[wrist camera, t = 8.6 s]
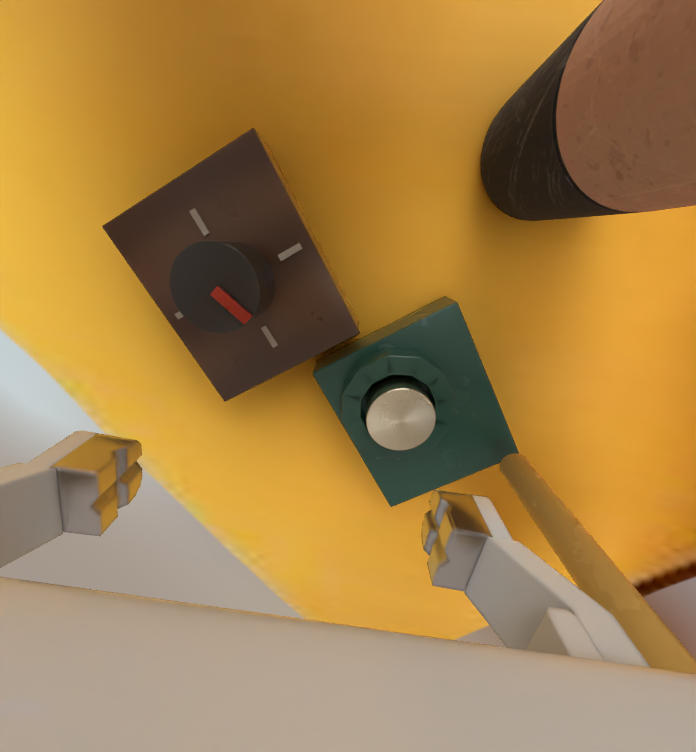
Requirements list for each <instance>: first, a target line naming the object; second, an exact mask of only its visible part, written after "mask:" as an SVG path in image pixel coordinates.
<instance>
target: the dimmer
mask: <svg viewBox="0 0 696 752" xmlns="http://www.w3.org/2000/svg"><path fill="white" fill-rule="evenodd" d="M102 227H103V229H104V230H105V231H106V233H107V234H108V236H109V237H110V239H111V240H112V241H113V243H114V244H115V246H116V247H117V249H118V250H119V251H120V253H121V254H122V256H123V257H124V259H125V260H126V261H127V263H128V264H129V266H130V267H131V268H132V270H133V271H134V273H135V274H136V276H137V277H138V278H139V280H140V281H141V283H142V284H143V286H144V287H145V288H146V290H147V291H148V293H149V294H150V296H151V297H152V298H153V300H154V301H155V303H156V304H157V306H158V307H159V308H160V310H161V311H162V313H163V314H164V316H165V317H166V318H167V320H168V321H169V323H170V324H171V326H172V327H173V328H174V330H175V331H176V333H177V334H178V336H179V337H180V338H181V340H182V341H183V343H184V344H185V346H186V347H187V348H188V350H189V351H190V353H191V354H192V356H193V357H194V358H195V360H196V361H197V363H198V364H199V366H200V367H201V368H202V370H203V371H204V373H205V374H206V376H207V377H208V378H209V380H210V381H211V383H212V384H213V386H214V387H215V388H216V390H217V391H218V393H219V394H220V396H221V397H222V398H223V400H224V401H227V400H229V399H231V398H233V397H235V396H237V395H239V394H241V393H243V392H245V391H247V390H249V389H251V388H253V387H255V386H257V385H259V384H261V383H263V382H265V381H267V380H269V379H271V378H273V377H275V376H277V375H279V374H281V373H283V372H285V371H286V370H288V369H290V368H292V367H294V366H296V365H298V364H300V363H302V362H304V361H306V360H308V359H310V358H312V357H314V356H316V355H318V354H320V353H322V352H324V351H326V350H328V349H330V348H332V347H334V346H336V345H338V344H340V343H342V342H344V341H346V340H348V339H350V338H352V337H354V336H356V335H358V334H359V333H360V330H359V322H358V320H357V318H356V316H355V314H354V313H353V311H352V309H351V307H350V305H349V303H348V301H347V299H346V297H345V295H344V293H343V291H342V289H341V287H340V285H339V283H338V281H337V279H336V278H335V276H334V274H333V272H332V270H331V268H330V266H329V264H328V262H327V260H326V258H325V256H324V254H323V252H322V250H321V248H320V246H319V244H318V242H317V241H316V239H315V237H314V235H313V233H312V231H311V229H310V227H309V225H308V223H307V221H306V219H305V217H304V215H303V213H302V211H301V209H300V207H299V206H298V204H297V202H296V200H295V198H294V196H293V194H292V192H291V190H290V188H289V186H288V184H287V182H286V180H285V178H284V176H283V174H282V172H281V171H280V169H279V167H278V165H277V163H276V161H275V159H274V157H273V155H272V153H271V151H270V149H269V147H268V145H267V144H266V143H265V141H264V140H263V139H262V138H261V136H260V135H259V134H258V133H257V131H256V130H255V129H254V128H252V129H251V130H249V131H247V132H246V133H244V134H243V135H241V136H240V137H238V138H237V139H235V140H234V141H232V142H231V143H229V144H228V145H226V146H224V147H223V148H221V149H220V150H218V151H217V152H215V153H214V154H212V155H211V156H209V157H208V158H206V159H204V160H203V161H201V162H200V163H198V164H197V165H195V166H194V167H192V168H191V169H189V170H188V171H186V172H185V173H183V174H181V175H180V176H178V177H177V178H175V179H174V180H172V181H171V182H169V183H168V184H166V185H165V186H163V187H161V188H160V189H158V190H157V191H155V192H154V193H152V194H151V195H149V196H148V197H146V198H145V199H143V200H142V201H140V202H138V203H137V204H135V205H134V206H132V207H131V208H129V209H128V210H126V211H125V212H123V213H122V214H120V215H118V216H117V217H115V218H114V219H112V220H111V221H109V222H108V223H106V224H105V225H103V226H102ZM200 241H226V242H239V243H243V244H246V245H248V246H251V247H252V248H254V249H256V250H257V251H258V252H259V253H260V254H261V255H262V256H263V257H264V258H265V259H266V261H267V262H268V264H269V265H270V267H271V270H272V272H273V276H274V283H275V288H274V294H273V298H272V300H271V302H270V304H269V306H268V307H267V308H266V310H265V311H264V312H263V313H261V314H260V315H258V316H257V317H256V318H254V319H253V320H252V321H250V322H249V323H248V324H246V325H245V326H243V327H242V328H240V329H238V330H236V331H233V332H229V333H213V332H209V331H205V330H203V329H200V328H198V327H197V326H195V325H193V324H192V323H191V322H189V321H188V320H187V319H186V318H185V317H184V316H183V315H182V314H181V312H180V311H179V310H178V308H177V306H176V305H175V303H174V300H173V298H172V295H171V291H170V284H169V278H170V271H171V268H172V265H173V263H174V260H175V259H176V257H177V256H178V255H179V253H180V252H181V251H182V250H184V249H185V248H186V247H188V246H189V245H191V244H194V243H196V242H200Z"/></svg>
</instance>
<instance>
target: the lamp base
mask: <svg viewBox="0 0 696 752" xmlns="http://www.w3.org/2000/svg"><path fill="white" fill-rule="evenodd" d="M313 376H314V377H315V379H316V381H317V383H318V384H319V386H320V388H321V389H322V391H323V393H324V394H325V396H326V398H327V400H328V401H329V403H330V405H331V406H332V408H333V410H334V411H335V413H336V415H337V417H338V418H339V420H340V422H341V423H342V425H343V427H344V428H345V430H346V432H347V433H348V435H349V437H350V439H351V440H352V442H353V444H354V445H355V447H356V449H357V450H358V452H359V454H360V456H361V457H362V459H363V461H364V462H365V464H366V466H367V467H368V469H369V471H370V472H371V474H372V476H373V478H374V479H375V481H376V483H377V484H378V486H379V488H380V489H381V491H382V493H383V495H384V496H385V498H386V500H387V501H388V503H389V505H390V506H391V507H392V506H395V505H397V504H400V503H402V502H405V501H407V500H410V499H412V498H414V497H417V496H419V495H422V494H424V493H427V492H429V491H432V490H434V489H436V488H439V487H441V486H444V485H446V484H449V483H451V482H454V481H456V480H459V479H461V478H463V477H466V476H468V475H471V474H473V473H476V472H478V471H481V470H483V469H485V468H488V467H490V466H493V465H495V464H498V463H500V462H501V460H502V459H503V458H504V457H505V456H507V455H509V454H513V453H518V454H519V452H518V450H517V447H516V445H515V442H514V440H513V437H512V435H511V432H510V430H509V427H508V425H507V423H506V420H505V418H504V415H503V413H502V410H501V408H500V405H499V403H498V401H497V398H496V396H495V393H494V391H493V388H492V386H491V383H490V381H489V379H488V376H487V374H486V371H485V369H484V366H483V364H482V361H481V359H480V357H479V354H478V352H477V349H476V347H475V344H474V342H473V339H472V337H471V335H470V332H469V330H468V327H467V325H466V322H465V320H464V317H463V315H462V312H461V310H460V308H459V305H458V303H457V302H456V301H454V300H452V299H450V298H448V297H446V296H445V297H443V298H441V299H439V300H437V301H435V302H433V303H431V304H429V305H427V306H425V307H423V308H421V309H419V310H417V311H415V312H413V313H411V314H409V315H407V316H405V317H403V318H401V319H399V320H397V321H395V322H393V323H391V324H389V325H387V326H385V327H383V328H381V329H379V330H377V331H375V332H373V333H371V334H369V335H367V336H365V337H363V338H361V339H359V340H357V341H355V342H353V343H351V344H350V345H348V346H346V347H344V348H342V349H340V350H338V351H336V352H334V353H332V354H330V355H328V356H326V357H324V358H322V359H320V360H318V361H316V364H315V367H314V371H313ZM393 378H405V379H409V380H412V381H414V382H416V383H417V384H419V385H420V386H421V387H422V388H423V389H424V390H425V392H426V393H427V395H428V397H429V399H430V401H431V403H432V405H433V407H434V409H435V414H436V421H435V426H434V429H433V431H432V433H431V434H430V436H429V437H428V438H427V439H426V440H425V441H424V442H423V443H421V444H420V445H418V446H416V447H414V448H411V449H407V450H392V449H388V448H385V447H383V446H381V445H380V444H378V443H377V442H376V441H375V440H374V439H373V438H372V437H371V435H370V434H369V432H368V429H367V424H366V415H365V404H366V400H367V397H368V395H369V394H370V392H371V391H372V390H373V389H374V388H375V387H376V386H377V385H378V384H380V383H381V382H383V381H386V380H388V379H393Z"/></svg>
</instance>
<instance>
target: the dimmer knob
mask: <svg viewBox="0 0 696 752" xmlns="http://www.w3.org/2000/svg"><path fill="white" fill-rule="evenodd" d="M169 284H170V291H171V295H172V298H173V300H174V303H175V305H176V306H177V308H178V310H179V311H180V312H181V314H182V315H183V316H184V317H185V318H186V319H187V320H188V321H189V322H191V323H192V324H193V325H195V326H197V327H198V328H200V329H203V330H205V331H209V332H213V333H229V332H233V331H236V330H238V329H240V328H242V327H243V326H245V325H246V324H248V323H249V322H250V321H252V320H253V319H254V318H256V317H257V316H258V315H260V314H261V313H263V312H264V311H265V310H266V308H267V307H268V306H269V304H270V302H271V300H272V298H273V294H274V288H275V283H274V276H273V272H272V270H271V267H270V265H269V264H268V262H267V261H266V259H265V258H264V257H263V256H262V255H261V254H260V253H259V252H258V251H257V250H256V249H254V248H252V247H251V246H248V245H246V244H243V243H239V242H226V241H200V242H196V243H194V244H191V245H189V246H188V247H186V248H185V249H184V250H182V251H181V252H180V253H179V255H178V256H177V257H176V259H175V260H174V263H173V265H172V268H171V271H170V278H169Z"/></svg>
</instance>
